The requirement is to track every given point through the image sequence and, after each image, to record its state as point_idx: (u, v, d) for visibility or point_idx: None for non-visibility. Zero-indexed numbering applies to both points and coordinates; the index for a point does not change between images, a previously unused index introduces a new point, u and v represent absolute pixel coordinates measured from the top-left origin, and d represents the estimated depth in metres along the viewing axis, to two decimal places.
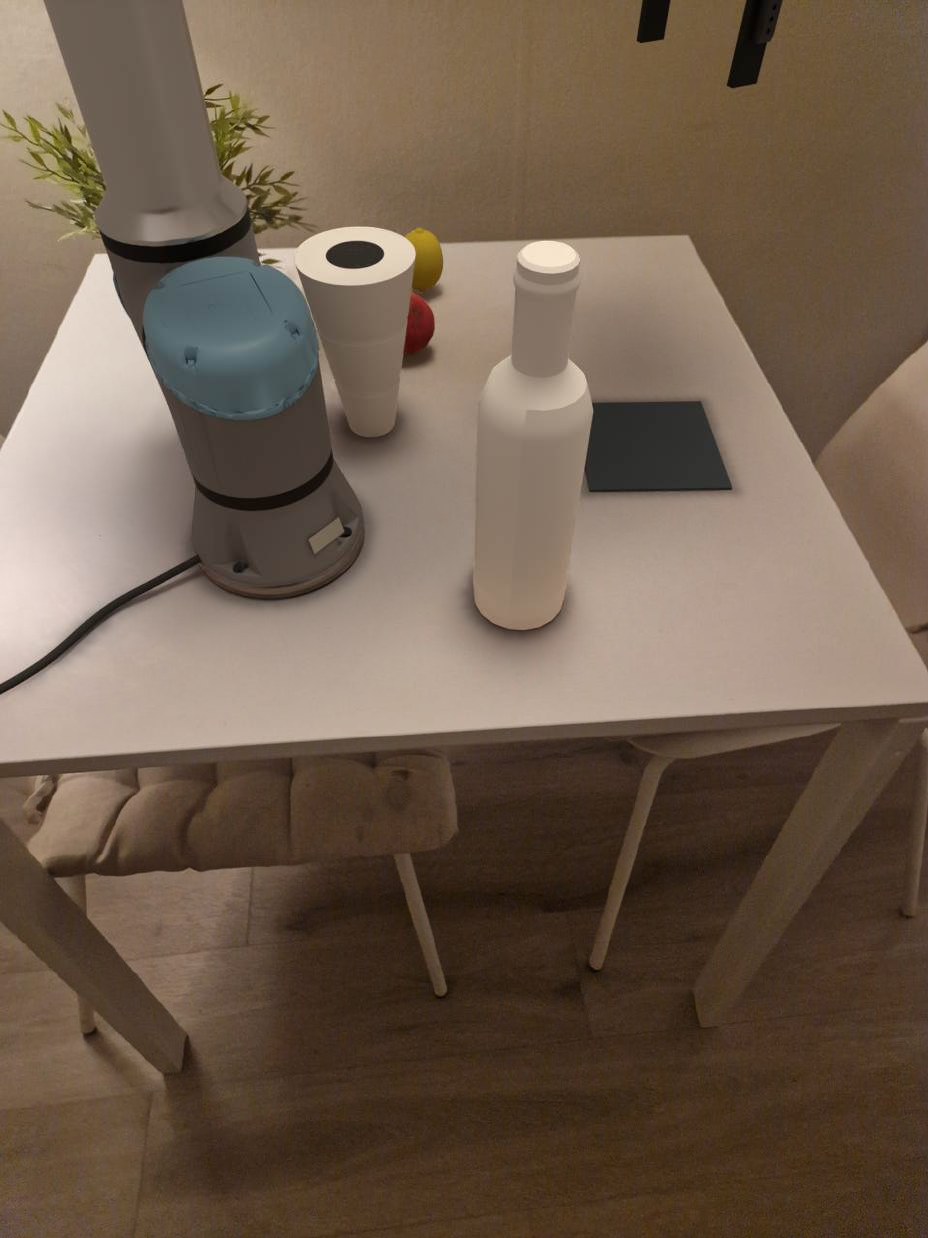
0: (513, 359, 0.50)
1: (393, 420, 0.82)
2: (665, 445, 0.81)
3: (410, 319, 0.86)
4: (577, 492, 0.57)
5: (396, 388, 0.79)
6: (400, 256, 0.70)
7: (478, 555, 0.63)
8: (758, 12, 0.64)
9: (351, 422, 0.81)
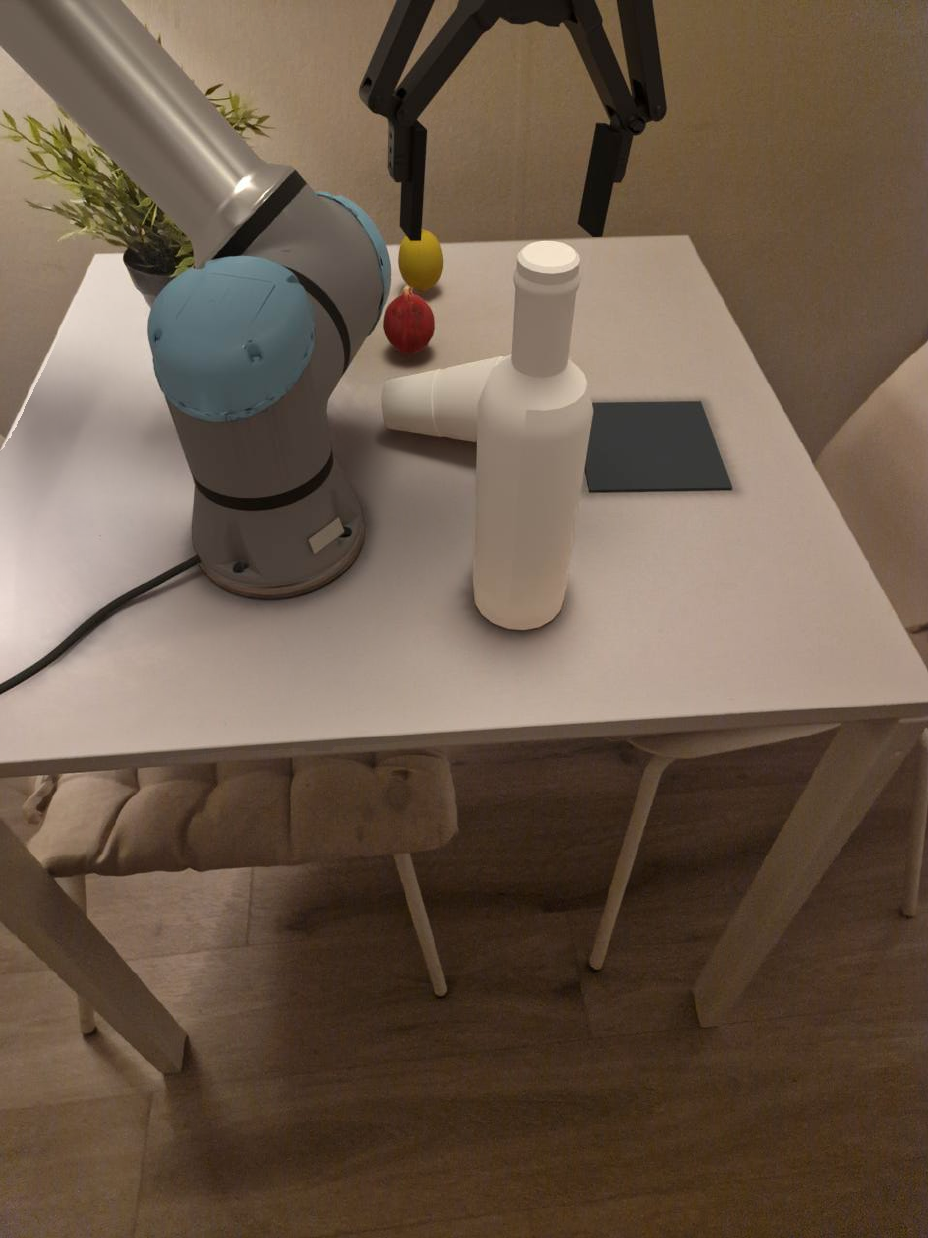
0: (513, 359, 0.50)
1: None
2: (665, 445, 0.81)
3: (410, 319, 0.86)
4: (577, 492, 0.57)
5: None
6: None
7: (478, 555, 0.63)
8: None
9: (395, 410, 0.78)
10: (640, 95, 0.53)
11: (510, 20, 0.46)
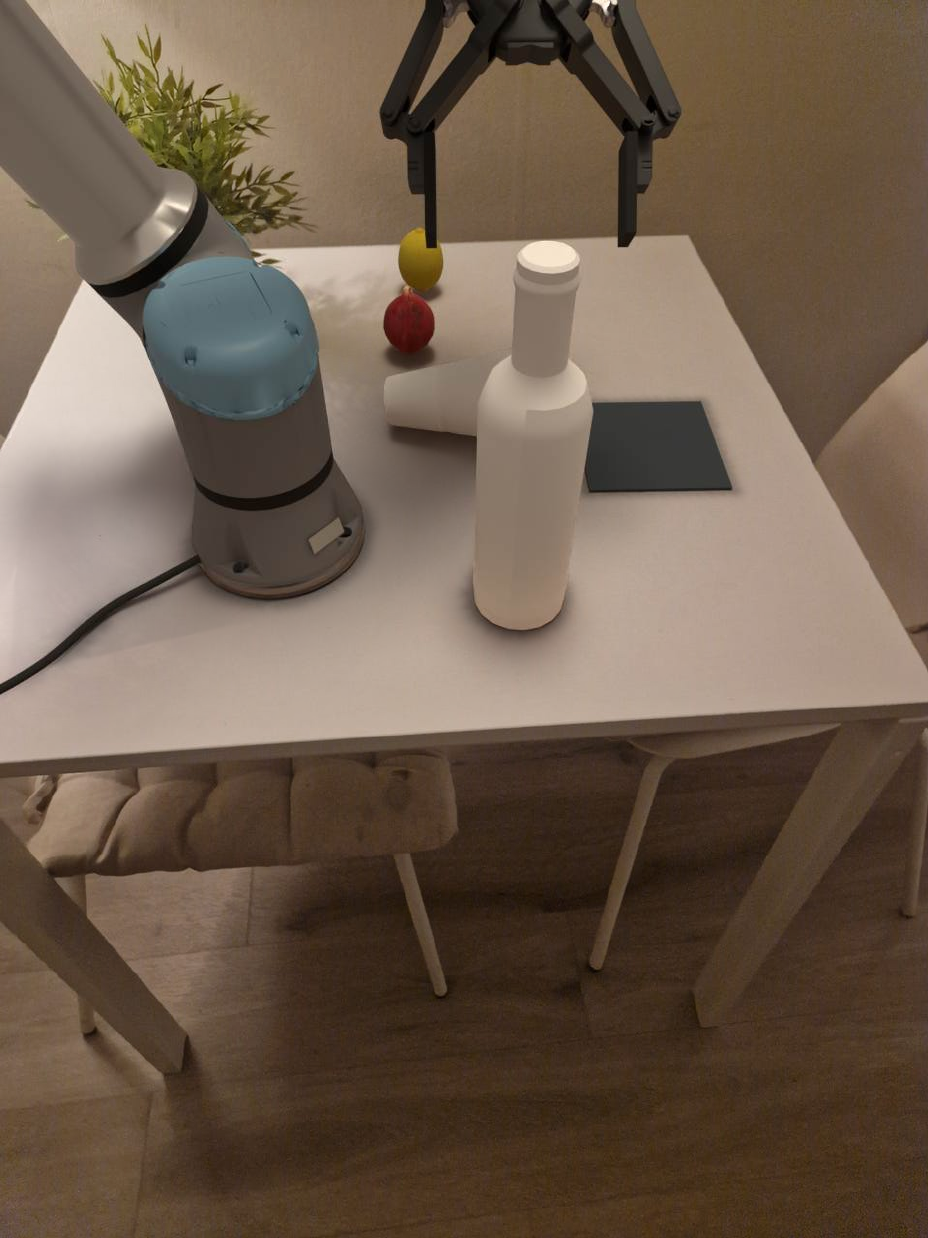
0: (513, 359, 0.50)
1: None
2: (665, 445, 0.81)
3: (410, 319, 0.86)
4: (577, 492, 0.57)
5: None
6: None
7: (478, 555, 0.63)
8: None
9: (397, 401, 0.78)
10: None
11: (506, 47, 0.53)
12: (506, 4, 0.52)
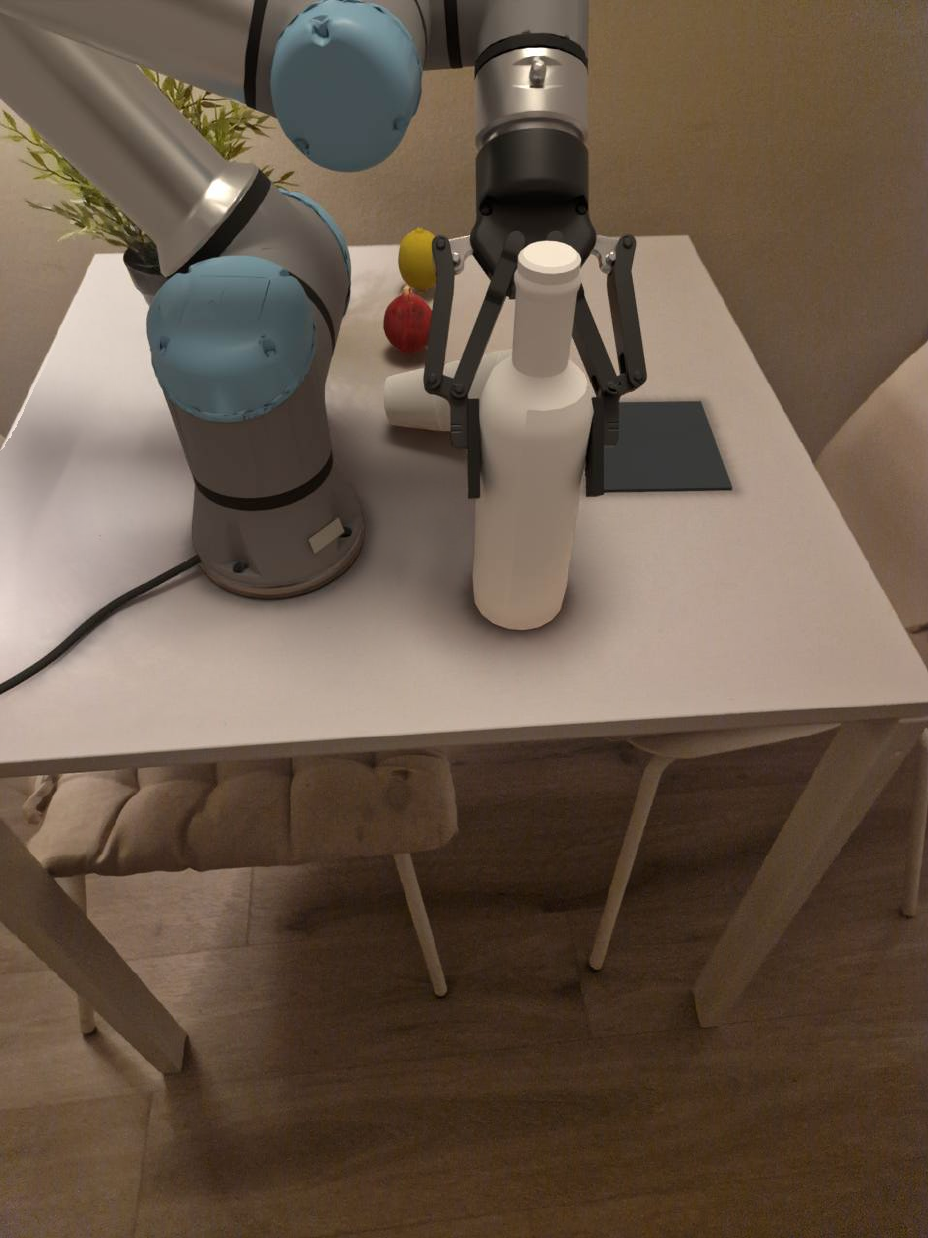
0: (514, 359, 0.50)
1: None
2: (665, 445, 0.81)
3: (410, 319, 0.86)
4: (577, 492, 0.57)
5: None
6: None
7: (478, 555, 0.63)
8: None
9: (397, 400, 0.78)
10: None
11: (510, 289, 0.53)
12: (514, 253, 0.52)
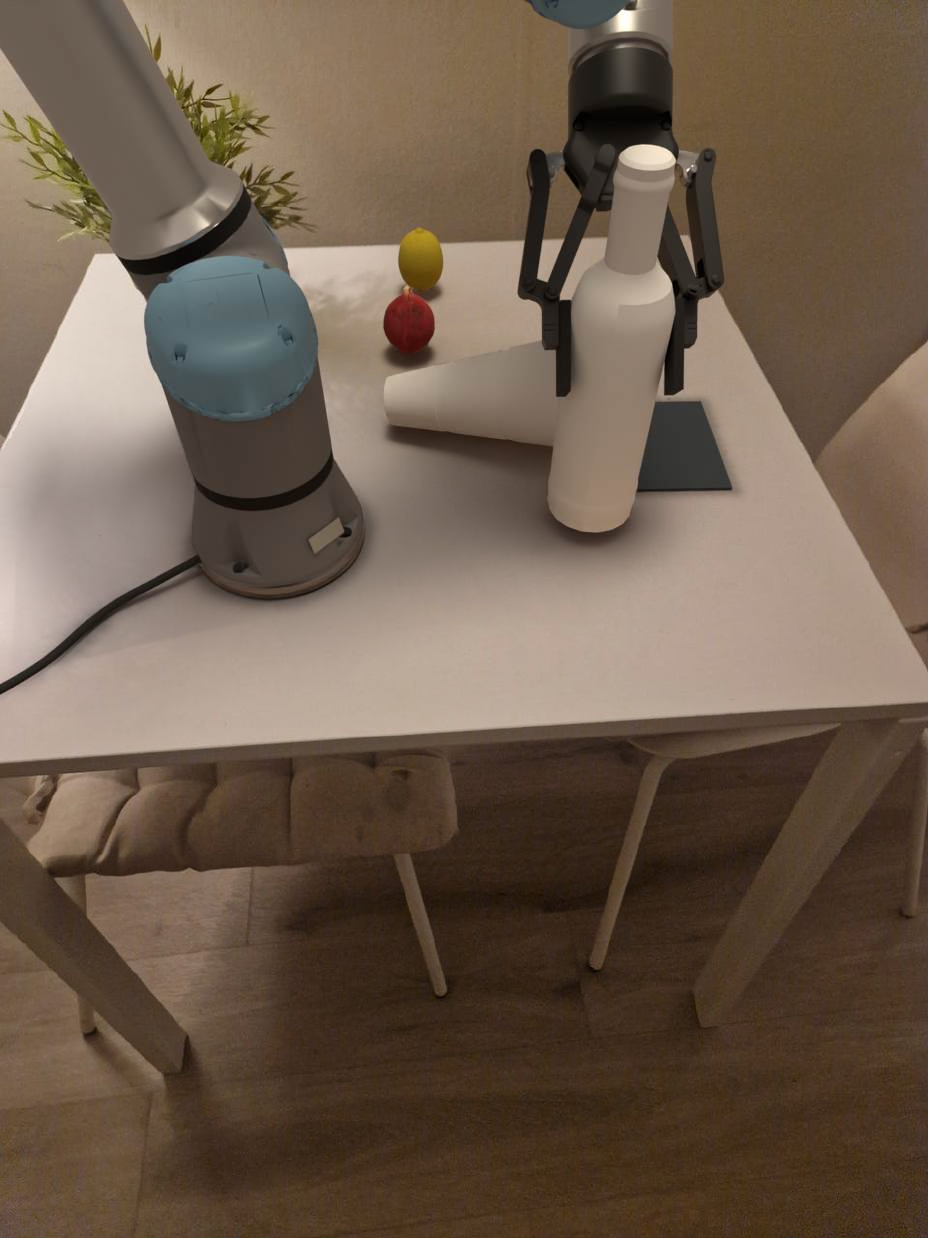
0: (607, 258, 0.55)
1: None
2: (665, 445, 0.81)
3: (410, 319, 0.86)
4: (656, 392, 0.62)
5: None
6: None
7: (558, 458, 0.68)
8: None
9: (397, 400, 0.78)
10: None
11: (600, 199, 0.58)
12: (605, 165, 0.57)
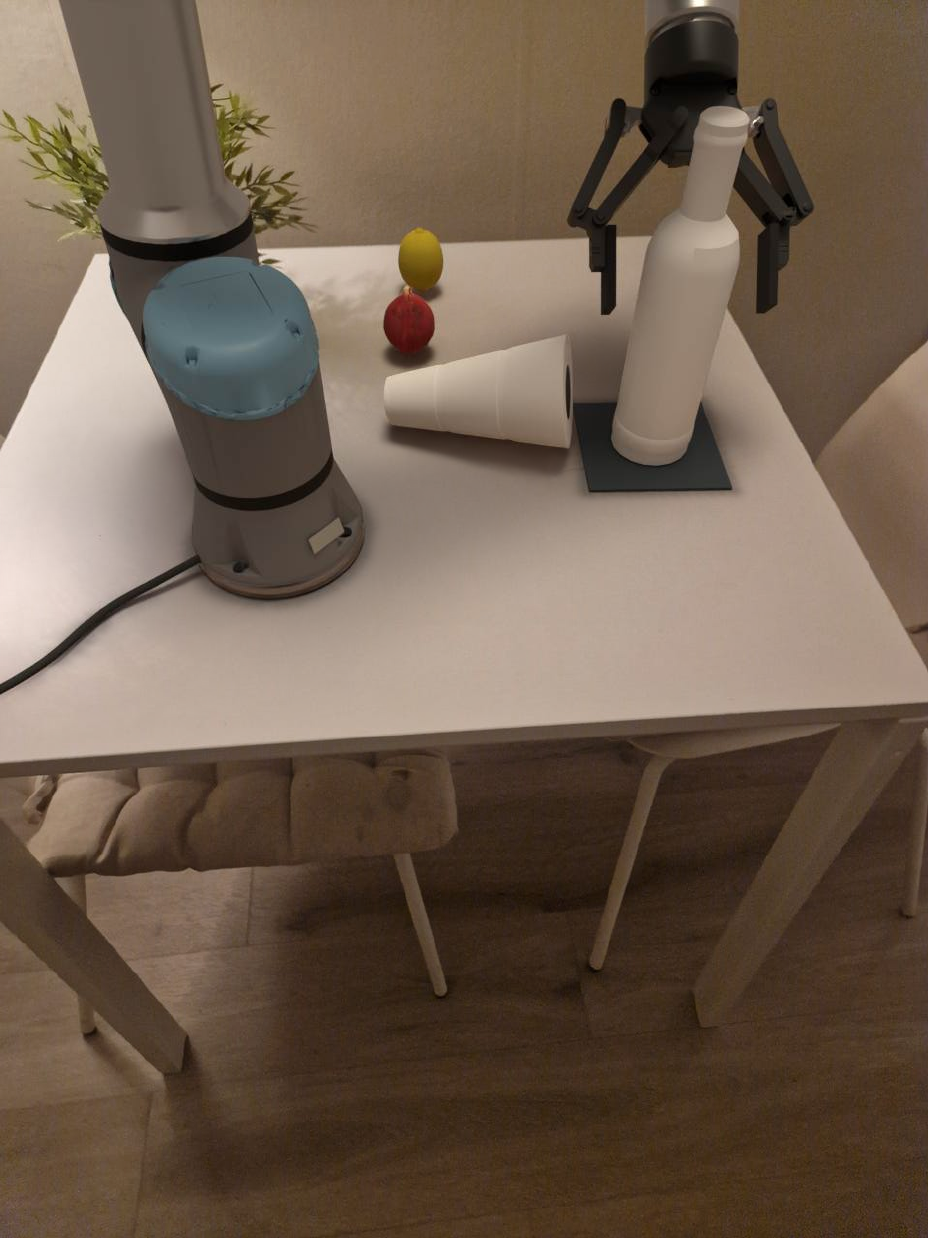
0: (683, 208, 0.63)
1: None
2: None
3: (410, 319, 0.86)
4: (719, 331, 0.70)
5: None
6: (570, 424, 0.80)
7: (626, 396, 0.76)
8: None
9: (397, 400, 0.78)
10: None
11: (673, 155, 0.66)
12: (676, 123, 0.64)
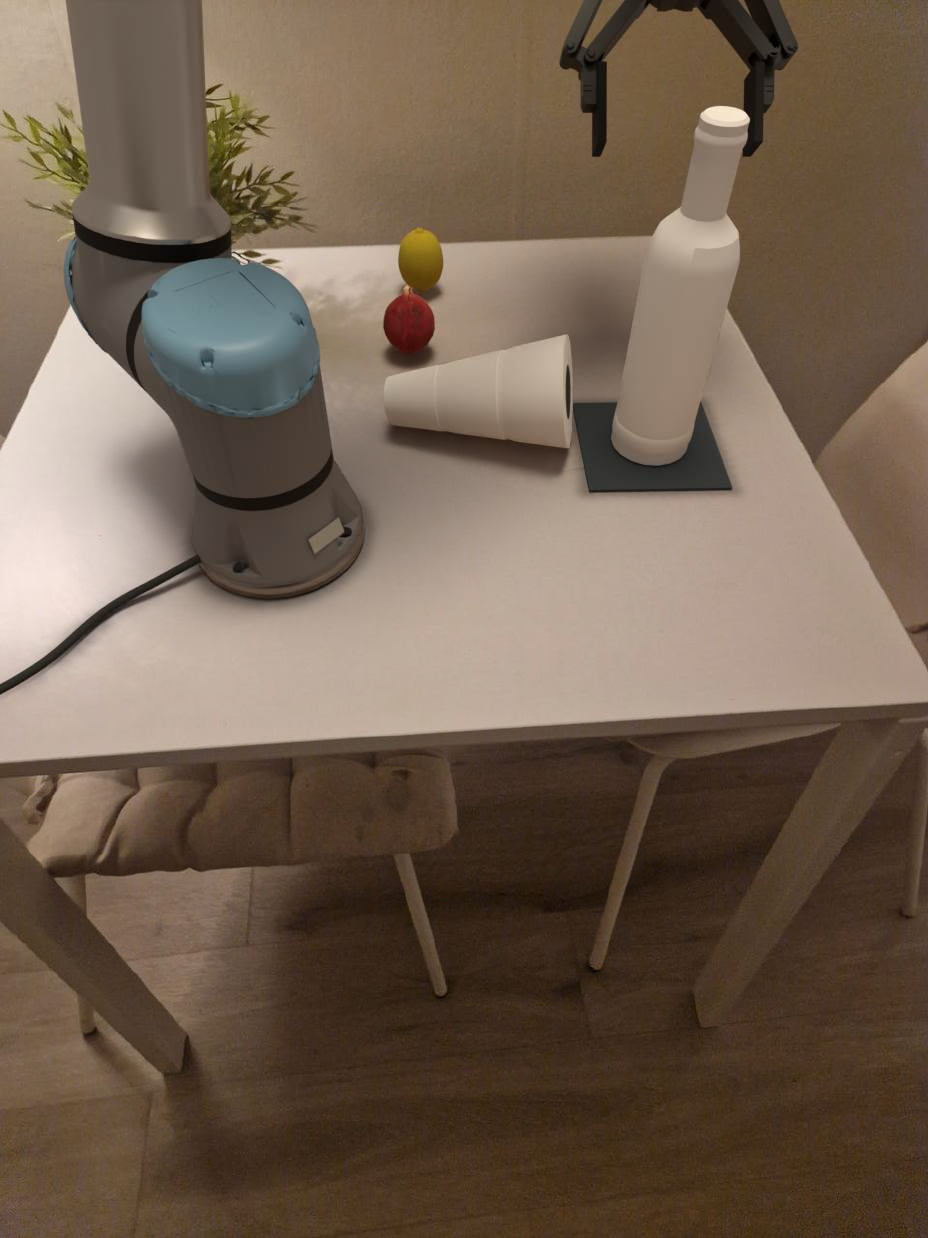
0: (684, 208, 0.63)
1: None
2: None
3: (410, 319, 0.86)
4: (719, 331, 0.70)
5: None
6: (570, 424, 0.80)
7: (626, 396, 0.76)
8: None
9: (397, 400, 0.78)
10: None
11: None
12: None
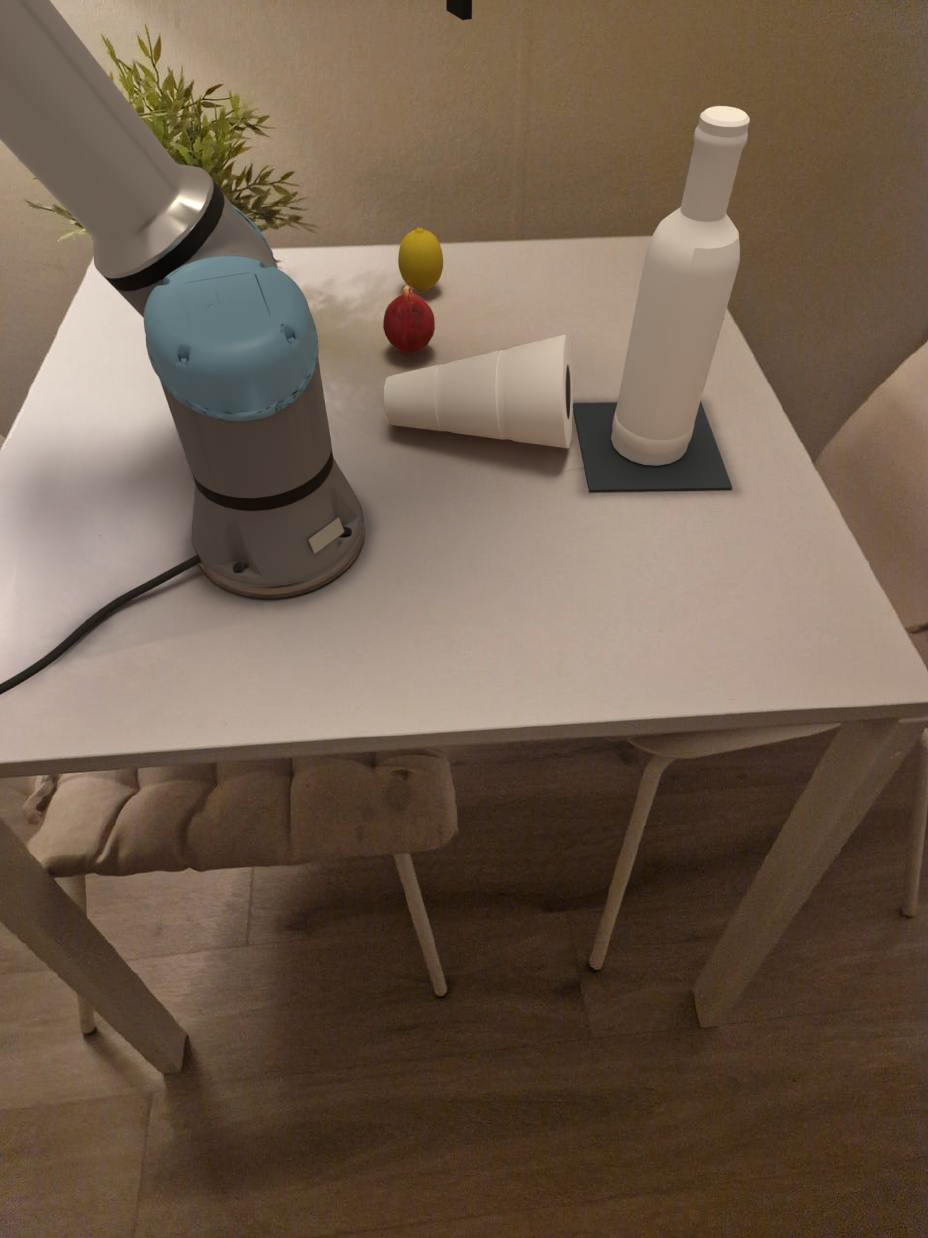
0: (684, 208, 0.63)
1: None
2: None
3: (410, 319, 0.86)
4: (719, 331, 0.70)
5: None
6: (570, 424, 0.80)
7: (626, 396, 0.76)
8: None
9: (397, 400, 0.78)
10: None
11: None
12: None
